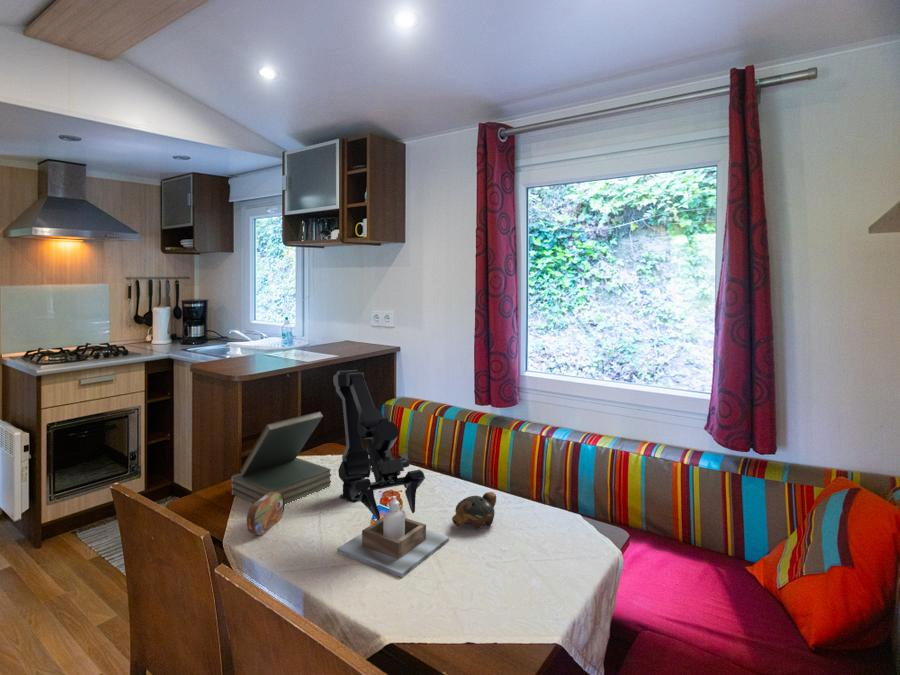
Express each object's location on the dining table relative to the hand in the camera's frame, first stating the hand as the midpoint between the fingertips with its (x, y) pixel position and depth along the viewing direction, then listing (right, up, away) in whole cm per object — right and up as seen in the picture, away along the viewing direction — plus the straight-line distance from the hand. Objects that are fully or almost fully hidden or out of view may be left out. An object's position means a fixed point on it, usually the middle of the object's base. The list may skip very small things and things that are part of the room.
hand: (396, 516), depth 128 cm
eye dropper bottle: (-1, -8, +2) cm, 8 cm away
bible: (-40, -5, +35) cm, 53 cm away
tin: (-36, -7, +11) cm, 39 cm away
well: (-1, -8, +2) cm, 9 cm away
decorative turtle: (+20, -8, +15) cm, 26 cm away
